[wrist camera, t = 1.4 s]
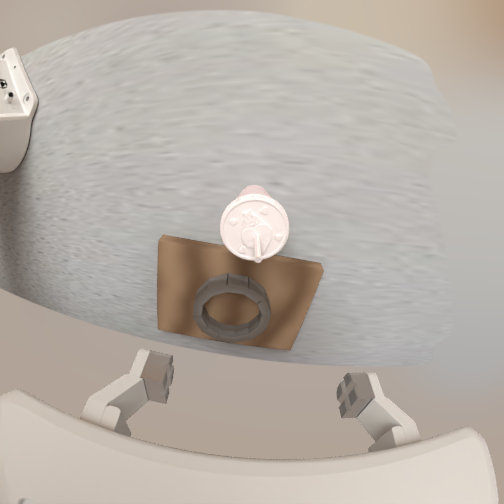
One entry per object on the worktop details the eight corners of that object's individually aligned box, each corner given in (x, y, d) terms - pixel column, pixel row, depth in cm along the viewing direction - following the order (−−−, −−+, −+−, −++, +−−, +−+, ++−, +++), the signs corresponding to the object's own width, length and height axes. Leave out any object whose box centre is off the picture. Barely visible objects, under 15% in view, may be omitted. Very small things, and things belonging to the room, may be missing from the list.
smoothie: (239, 230, 35) (233, 297, 23) (219, 185, 32) (199, 232, 20) (286, 213, 34) (306, 273, 22) (269, 166, 31) (281, 201, 19)
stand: (160, 321, 43) (153, 340, 39) (162, 234, 35) (152, 250, 31) (289, 341, 45) (291, 361, 41) (320, 263, 37) (328, 281, 33)
